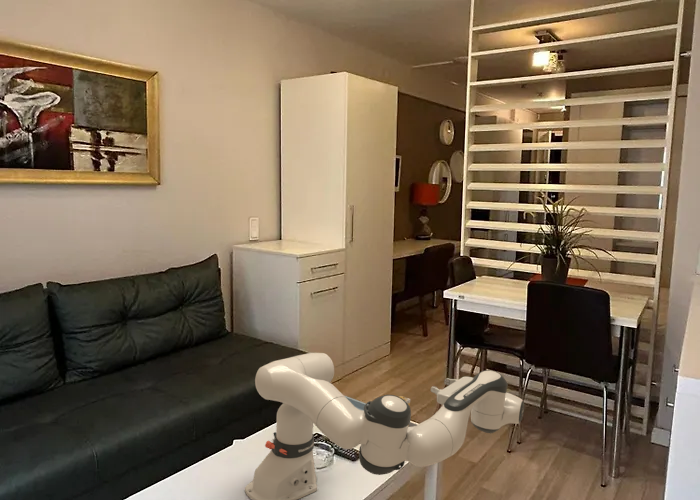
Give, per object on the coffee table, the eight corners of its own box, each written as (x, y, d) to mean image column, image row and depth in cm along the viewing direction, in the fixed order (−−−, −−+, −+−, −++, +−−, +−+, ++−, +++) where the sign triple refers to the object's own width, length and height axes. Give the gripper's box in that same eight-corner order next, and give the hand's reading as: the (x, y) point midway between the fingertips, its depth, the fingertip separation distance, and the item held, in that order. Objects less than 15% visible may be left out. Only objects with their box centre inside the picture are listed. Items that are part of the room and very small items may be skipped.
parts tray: (350, 429, 192) (351, 420, 192) (318, 416, 202) (319, 408, 202) (375, 415, 205) (376, 407, 204) (344, 403, 215) (344, 395, 214)
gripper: (460, 416, 163) (422, 402, 172) (487, 396, 179) (451, 384, 188) (461, 397, 162) (423, 384, 171) (489, 379, 178) (453, 368, 187)
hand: (438, 384), depth 180 cm, fingers open, 8 cm apart
